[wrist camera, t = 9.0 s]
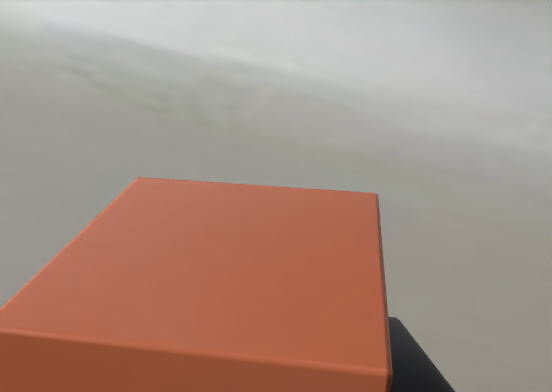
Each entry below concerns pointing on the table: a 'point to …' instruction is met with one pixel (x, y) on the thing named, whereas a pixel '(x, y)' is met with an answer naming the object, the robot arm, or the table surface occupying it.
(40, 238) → the table surface
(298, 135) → the table surface
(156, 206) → the block
